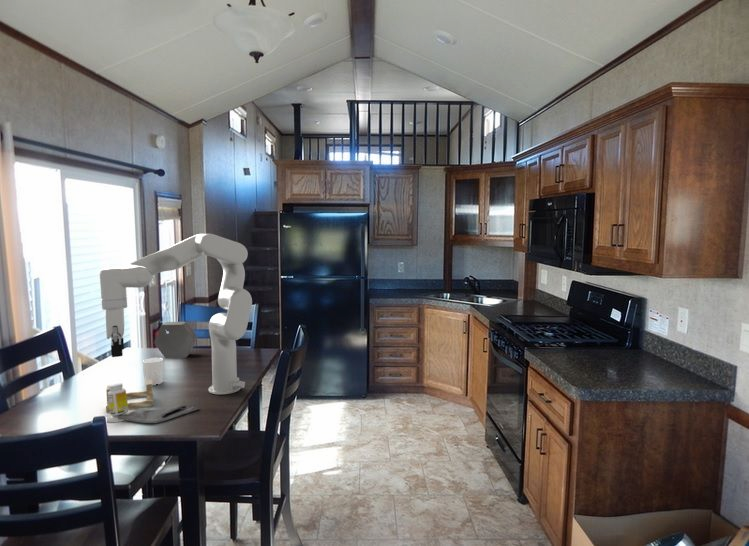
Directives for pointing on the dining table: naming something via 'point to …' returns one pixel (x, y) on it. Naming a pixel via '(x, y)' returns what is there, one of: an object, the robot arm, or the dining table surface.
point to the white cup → (153, 370)
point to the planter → (175, 339)
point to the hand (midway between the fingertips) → (118, 352)
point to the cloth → (156, 414)
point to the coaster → (116, 417)
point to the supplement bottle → (117, 400)
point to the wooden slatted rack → (137, 394)
